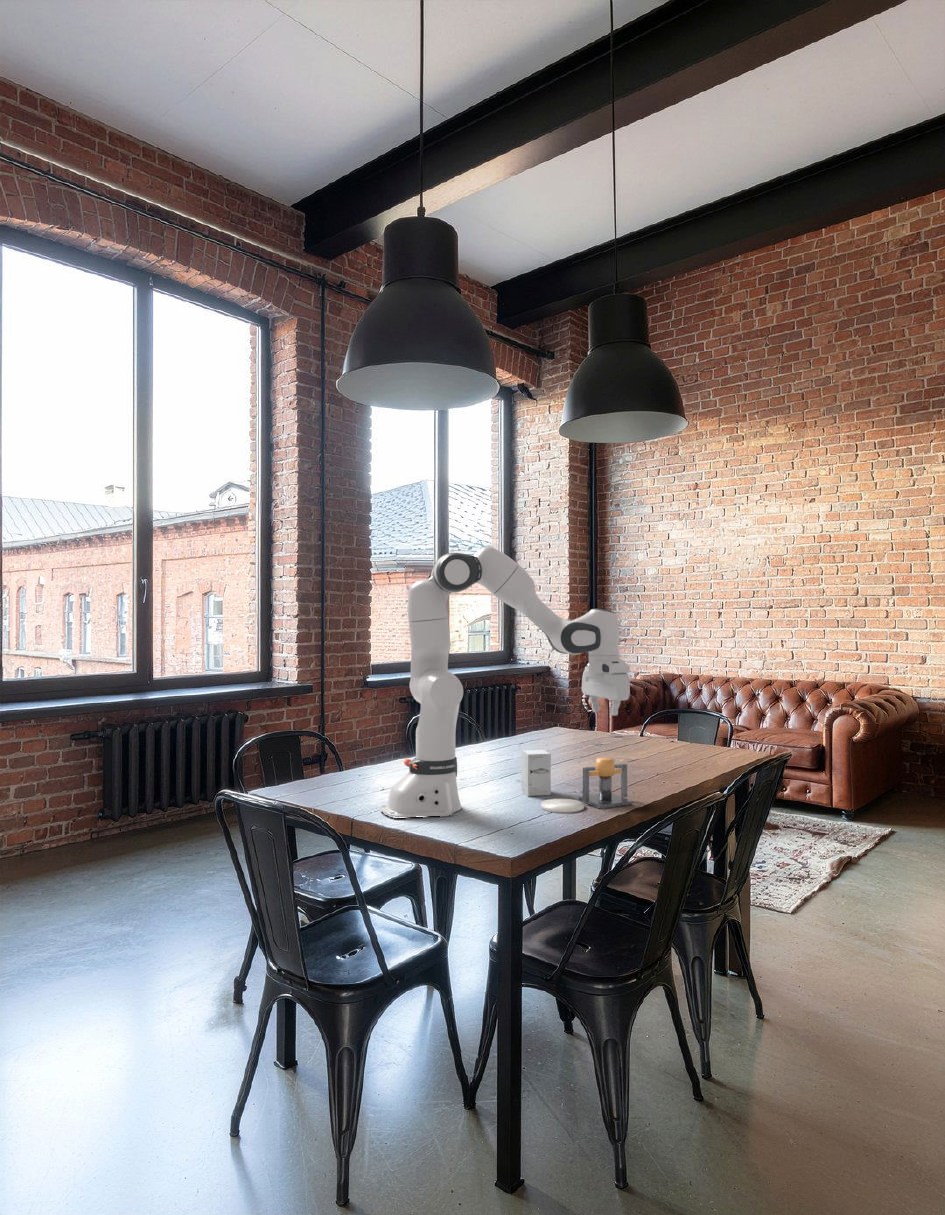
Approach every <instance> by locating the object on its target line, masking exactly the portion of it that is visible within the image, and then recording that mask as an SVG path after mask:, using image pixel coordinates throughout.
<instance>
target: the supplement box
mask: <svg viewBox="0 0 945 1215" xmlns="http://www.w3.org/2000/svg"><path fill="white" fill-rule="evenodd" d="M551 759H552V754H551V753H550V752H548V751H547V750H545V749H530V750H529V749H528V750H521V792H522V793H523V794H524V795H526V797H533V796H534V797H535V796H537V797H538V796H551V793H552V791H551V790H552V789H551V788H552V785H551V783H552V782H551V781H552V780H551V779H552V778H551V776H552V775H551V772H552V771H551V770H552V768H551V767H552V764H551V762H552V761H551Z"/></svg>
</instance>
